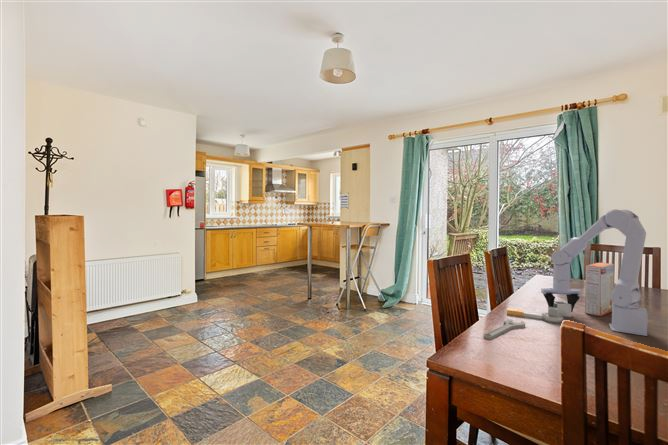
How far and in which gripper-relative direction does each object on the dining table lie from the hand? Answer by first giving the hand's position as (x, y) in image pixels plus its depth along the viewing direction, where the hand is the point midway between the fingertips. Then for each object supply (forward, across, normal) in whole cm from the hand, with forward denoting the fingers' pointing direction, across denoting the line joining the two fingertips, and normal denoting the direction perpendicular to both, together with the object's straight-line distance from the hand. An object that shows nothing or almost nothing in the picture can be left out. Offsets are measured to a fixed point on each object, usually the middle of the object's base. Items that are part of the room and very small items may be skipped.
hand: (560, 311), depth 137 cm
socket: (+1, 0, 0) cm, 1 cm away
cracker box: (+2, -18, -6) cm, 19 cm away
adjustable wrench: (+2, +31, +23) cm, 39 cm away
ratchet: (+2, +13, +6) cm, 14 cm away
